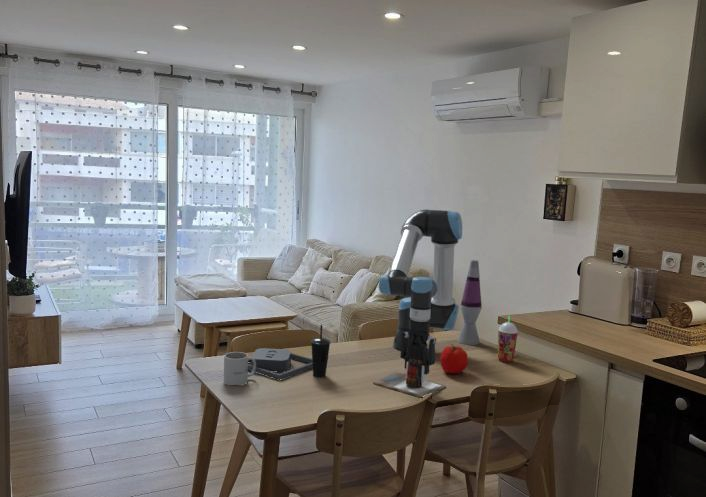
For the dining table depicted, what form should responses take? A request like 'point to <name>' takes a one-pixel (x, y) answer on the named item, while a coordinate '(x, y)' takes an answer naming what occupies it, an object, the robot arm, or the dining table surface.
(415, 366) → the deodorant
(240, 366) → the mug
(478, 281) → the lamp
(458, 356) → the tomato
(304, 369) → the frame
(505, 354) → the smoothie
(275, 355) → the streaming box
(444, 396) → the dining table surface
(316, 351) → the drinking cup
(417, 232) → the robot arm
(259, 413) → the dining table surface
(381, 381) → the silver rectangular panel
